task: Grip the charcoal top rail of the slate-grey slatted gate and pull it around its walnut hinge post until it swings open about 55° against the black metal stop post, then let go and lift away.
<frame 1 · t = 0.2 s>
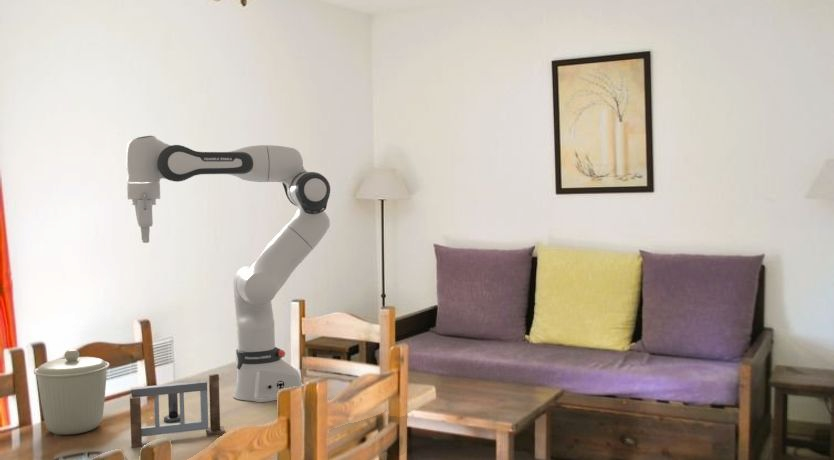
hand: (145, 241, 225), 48 cm above the table, tool pointing down, fingers open, 8 cm apart
canister: (74, 430, 207), on the table
stop post: (173, 419, 214), on the table
gate frame: (215, 433, 201), on the table
gate: (170, 408, 197), point 8 cm above the table, hinge at 0.0°
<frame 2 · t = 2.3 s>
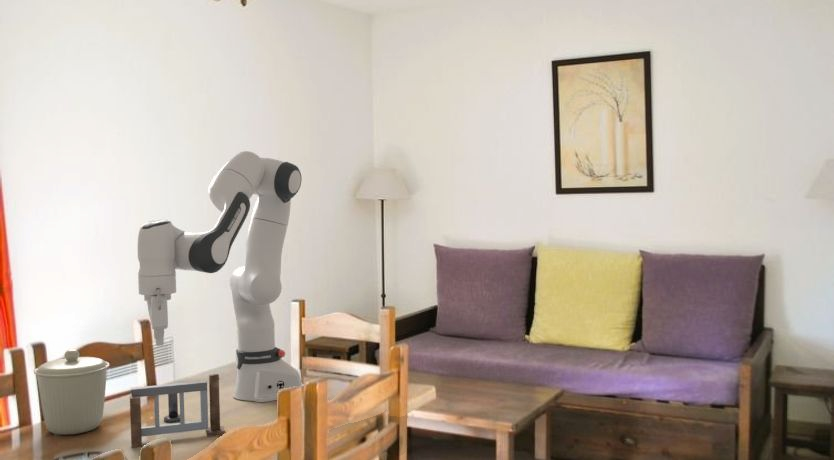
hand: (158, 341, 196), 25 cm above the table, tool pointing down, fingers open, 8 cm apart
nothing on the table moved.
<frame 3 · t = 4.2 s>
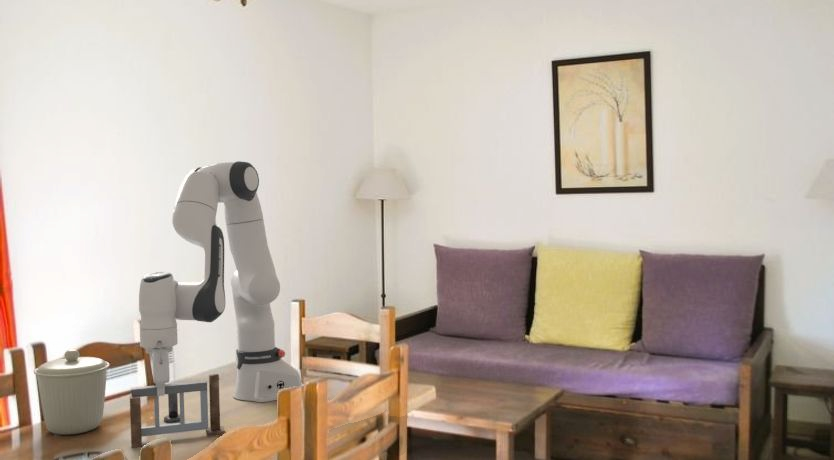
hand: (160, 393, 196), 12 cm above the table, tool pointing down, fingers closed on gate, 2 cm apart
gate: (170, 408, 197), point 8 cm above the table, hinge at 0.0°, touching gripper
everything else where it was.
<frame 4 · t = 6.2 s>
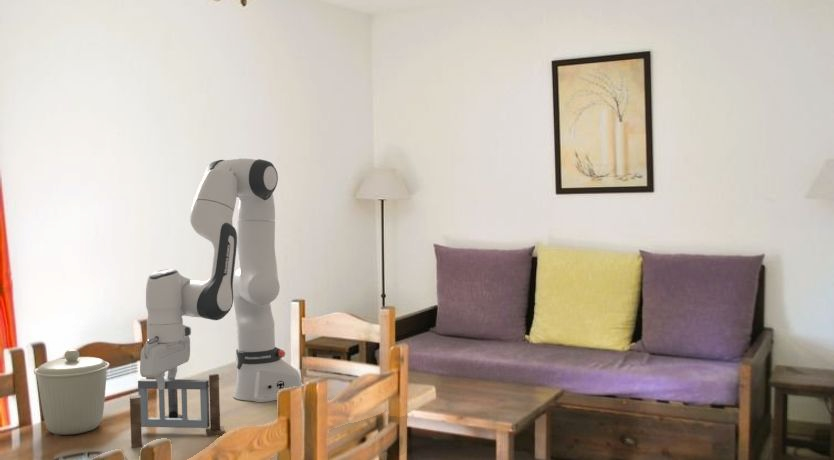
hand: (166, 387, 203), 12 cm above the table, tool pointing down, fingers open, 3 cm apart
gate: (173, 403, 202), point 8 cm above the table, hinge at 26.6°, touching gripper
everything else where it was.
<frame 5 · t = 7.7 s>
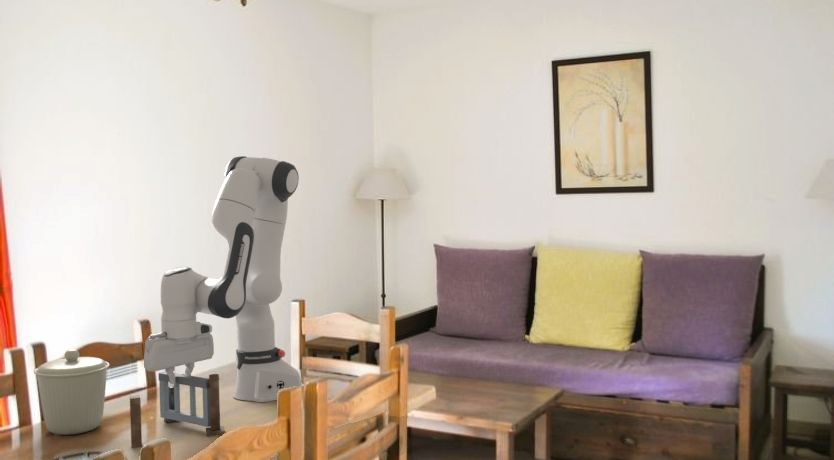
hand: (180, 381, 208), 12 cm above the table, tool pointing down, fingers open, 3 cm apart
gate: (185, 398, 207), point 8 cm above the table, hinge at 52.5°, touching gripper
everything else where it was.
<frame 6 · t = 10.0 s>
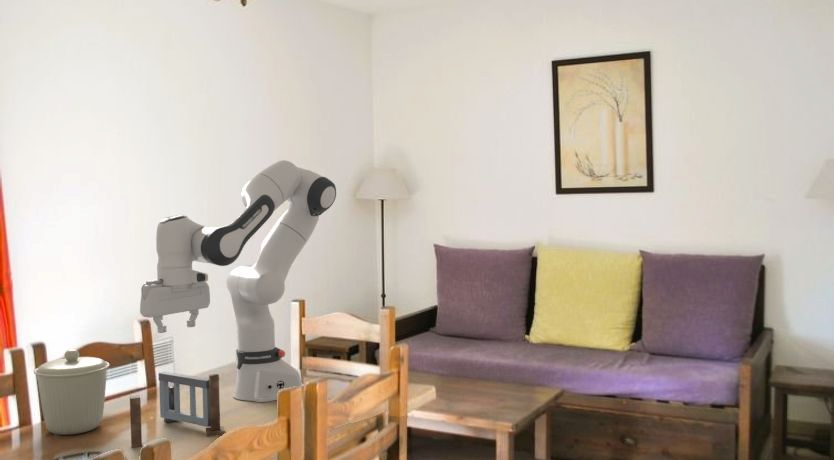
hand: (176, 329, 208), 25 cm above the table, tool pointing down, fingers open, 8 cm apart
gate: (185, 398, 207), point 8 cm above the table, hinge at 52.5°
everything else where it was.
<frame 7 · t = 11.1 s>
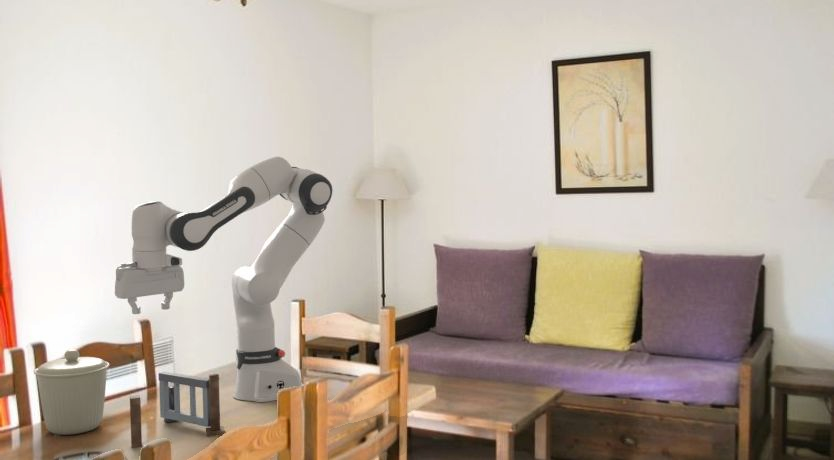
hand: (151, 311, 216), 29 cm above the table, tool pointing down, fingers open, 8 cm apart
nothing on the table moved.
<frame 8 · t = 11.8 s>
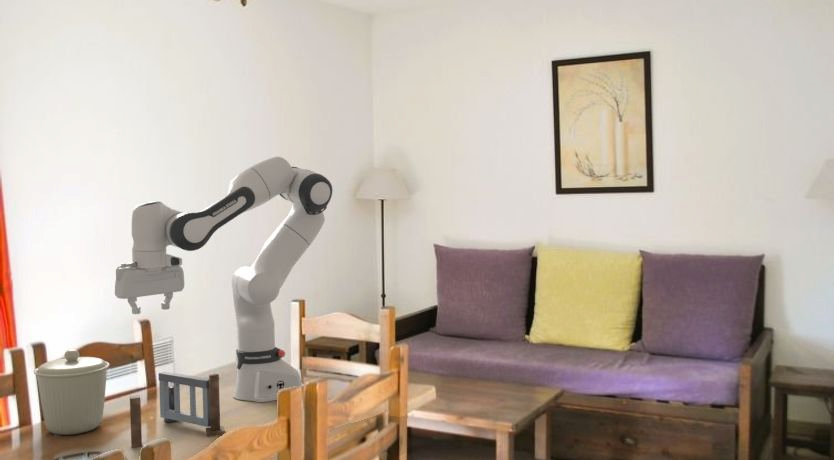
hand: (151, 311, 216), 29 cm above the table, tool pointing down, fingers open, 8 cm apart
nothing on the table moved.
at the end: gate at +52° (first picture: +0°); the gripper is holding nothing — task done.
